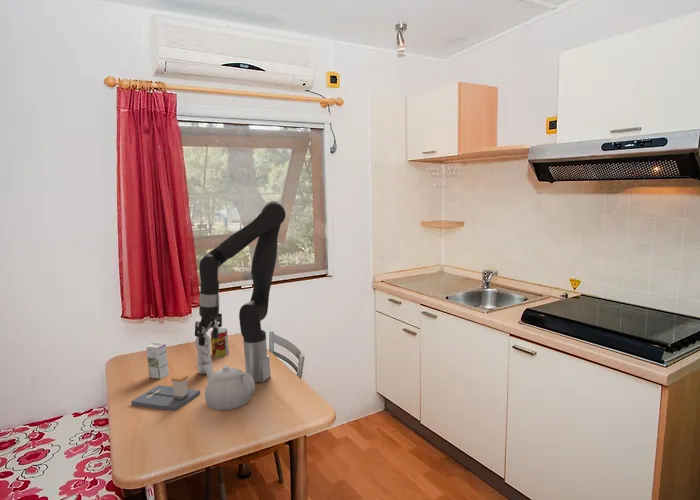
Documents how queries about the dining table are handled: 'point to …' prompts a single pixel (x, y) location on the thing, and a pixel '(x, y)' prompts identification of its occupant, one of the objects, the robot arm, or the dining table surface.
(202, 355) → the plastic bottle
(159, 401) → the console
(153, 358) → the syrup box
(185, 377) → the fader knob
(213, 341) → the canned food
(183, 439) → the dining table surface
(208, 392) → the teapot
